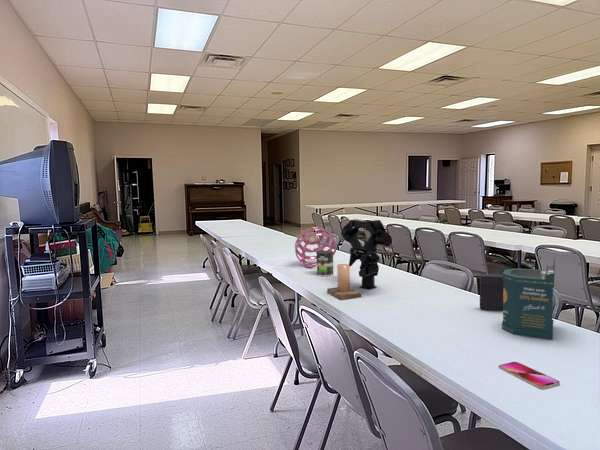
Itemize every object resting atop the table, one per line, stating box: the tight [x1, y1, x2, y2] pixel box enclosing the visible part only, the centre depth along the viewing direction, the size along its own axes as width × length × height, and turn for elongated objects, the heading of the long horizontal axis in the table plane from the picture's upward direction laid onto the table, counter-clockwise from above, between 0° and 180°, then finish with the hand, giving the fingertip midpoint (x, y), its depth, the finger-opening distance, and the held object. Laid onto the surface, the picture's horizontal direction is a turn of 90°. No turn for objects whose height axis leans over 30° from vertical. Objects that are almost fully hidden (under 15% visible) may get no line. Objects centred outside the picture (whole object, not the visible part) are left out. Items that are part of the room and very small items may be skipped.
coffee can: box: [315, 250, 334, 277], centre depth 253 cm, size 10×10×14 cm
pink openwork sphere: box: [294, 226, 338, 269], centre depth 277 cm, size 28×28×27 cm
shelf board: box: [326, 286, 362, 301], centre depth 206 cm, size 16×11×2 cm
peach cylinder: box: [337, 263, 351, 292], centre depth 206 cm, size 6×6×13 cm
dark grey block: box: [479, 273, 504, 313], centre depth 174 cm, size 11×4×15 cm, turn 71°
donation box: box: [501, 252, 556, 341], centre depth 150 cm, size 16×16×28 cm
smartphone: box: [498, 361, 561, 390], centre depth 117 cm, size 7×1×15 cm
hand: (354, 267), depth 205 cm, fingers open, 9 cm apart
